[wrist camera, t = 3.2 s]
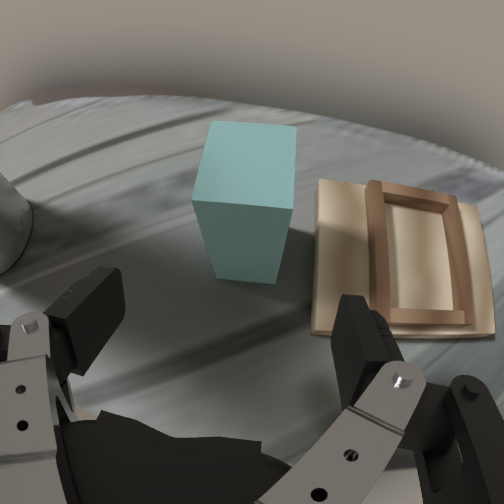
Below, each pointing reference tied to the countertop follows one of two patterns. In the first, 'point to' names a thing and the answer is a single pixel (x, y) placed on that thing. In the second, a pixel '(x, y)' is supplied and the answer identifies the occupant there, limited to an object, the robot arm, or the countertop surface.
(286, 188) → the pale teal block
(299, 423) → the countertop surface
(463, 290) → the tan flat rimmed tray
